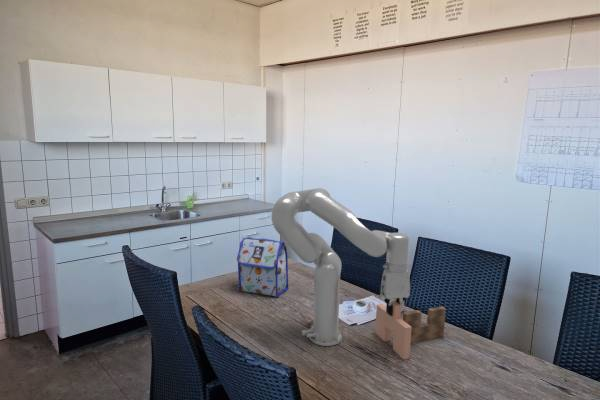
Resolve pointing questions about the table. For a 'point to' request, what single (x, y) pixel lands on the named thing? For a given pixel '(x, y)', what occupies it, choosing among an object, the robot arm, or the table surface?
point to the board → (426, 324)
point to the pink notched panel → (394, 329)
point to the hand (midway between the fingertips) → (393, 313)
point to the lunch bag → (262, 266)
